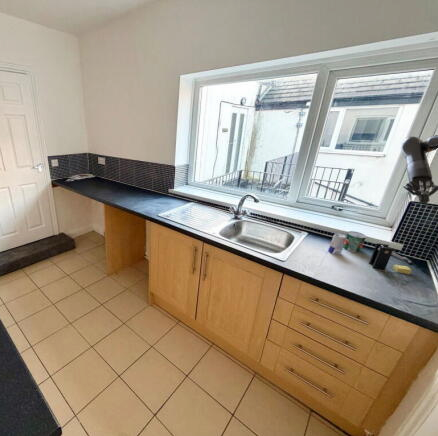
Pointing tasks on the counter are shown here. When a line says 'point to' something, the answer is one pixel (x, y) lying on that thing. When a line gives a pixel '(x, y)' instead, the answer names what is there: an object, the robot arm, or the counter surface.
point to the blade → (401, 257)
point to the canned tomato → (354, 241)
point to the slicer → (381, 257)
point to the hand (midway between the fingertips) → (424, 202)
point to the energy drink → (337, 244)
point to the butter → (402, 269)
